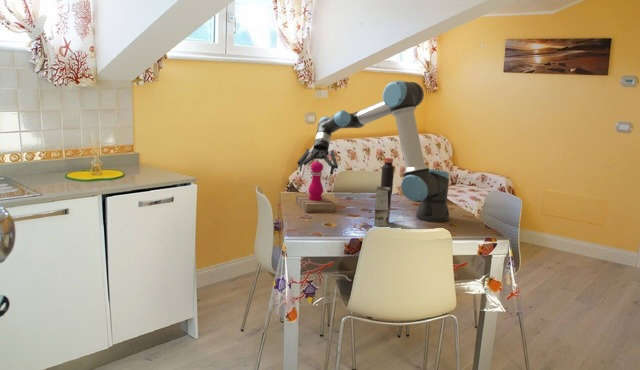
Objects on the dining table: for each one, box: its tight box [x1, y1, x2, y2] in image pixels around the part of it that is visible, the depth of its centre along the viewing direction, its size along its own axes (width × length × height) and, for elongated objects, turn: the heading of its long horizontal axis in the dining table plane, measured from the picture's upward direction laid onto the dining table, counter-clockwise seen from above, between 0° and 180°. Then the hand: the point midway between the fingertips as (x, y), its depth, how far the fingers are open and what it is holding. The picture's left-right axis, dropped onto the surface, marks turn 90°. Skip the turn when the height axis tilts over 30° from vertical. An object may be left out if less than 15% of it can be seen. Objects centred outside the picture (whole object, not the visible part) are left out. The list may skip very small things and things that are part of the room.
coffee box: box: [373, 186, 392, 228], centre depth 230 cm, size 9×6×16 cm
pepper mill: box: [307, 158, 324, 201], centre depth 255 cm, size 7×7×20 cm
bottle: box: [380, 157, 395, 194], centre depth 302 cm, size 7×7×20 cm
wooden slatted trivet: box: [295, 194, 336, 213], centre depth 257 cm, size 20×14×4 cm
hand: (314, 177), depth 252 cm, fingers open, 13 cm apart
